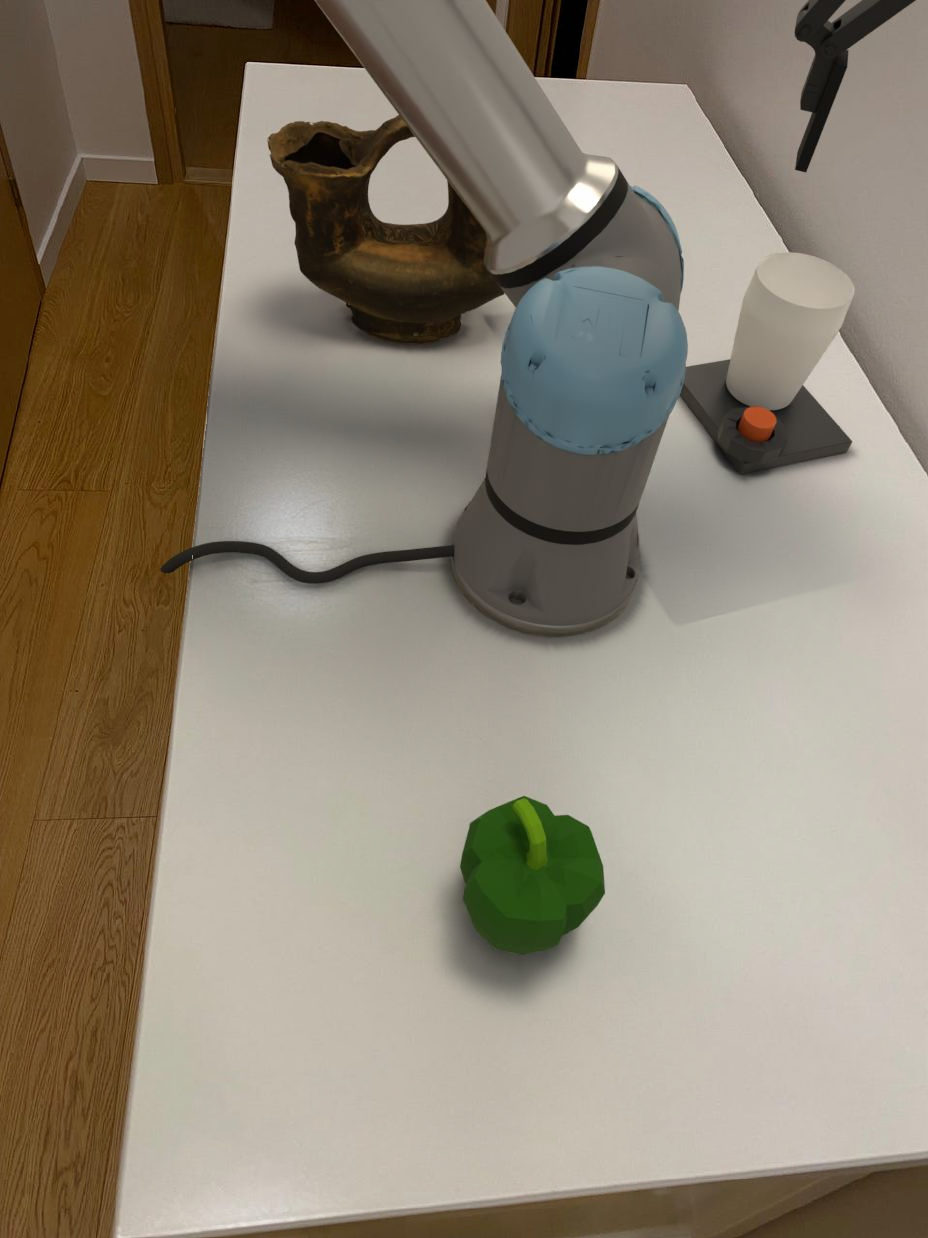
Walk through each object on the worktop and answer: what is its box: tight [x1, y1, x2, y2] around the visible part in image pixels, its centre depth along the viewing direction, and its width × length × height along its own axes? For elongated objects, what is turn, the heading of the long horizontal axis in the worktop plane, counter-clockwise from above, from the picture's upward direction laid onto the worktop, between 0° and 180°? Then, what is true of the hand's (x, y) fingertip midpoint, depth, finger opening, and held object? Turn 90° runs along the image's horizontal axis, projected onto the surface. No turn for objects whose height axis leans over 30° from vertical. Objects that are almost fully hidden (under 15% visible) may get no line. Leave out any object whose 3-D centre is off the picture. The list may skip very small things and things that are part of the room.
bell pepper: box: [459, 795, 606, 956], centre depth 56 cm, size 8×8×10 cm
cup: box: [726, 251, 856, 410], centre depth 88 cm, size 9×9×12 cm
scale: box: [679, 358, 853, 475], centre depth 91 cm, size 13×14×3 cm
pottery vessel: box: [266, 114, 505, 345], centre depth 89 cm, size 25×11×20 cm, turn 94°
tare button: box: [738, 407, 777, 442], centre depth 86 cm, size 3×3×2 cm
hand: (903, 186), depth 63 cm, fingers open, 13 cm apart
